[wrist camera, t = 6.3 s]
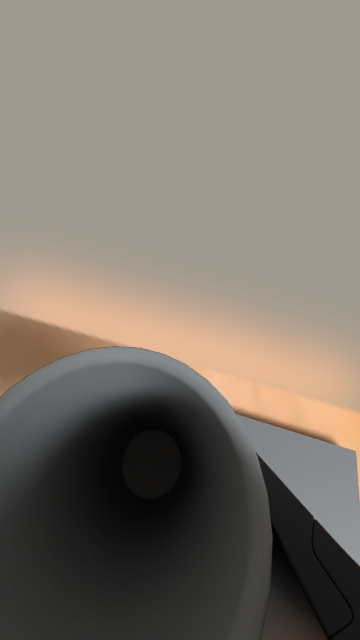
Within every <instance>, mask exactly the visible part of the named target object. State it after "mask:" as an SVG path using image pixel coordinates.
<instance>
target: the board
mask: <svg viewBox="0 0 360 640" xmlns="http://www.w3.org/2000/svg"><path fill="white" fill-rule="evenodd" d="M236 415H237V416H238V418H239V419H240V421H241V422H242V424H243V426H244V428H245V430H246V432H247V434H248V437H249V439H250V441H251V443H252V446H253V448H254V450H255V451H256V452H257V454H258V455H259V456H260V457H261V458H262V459H263V460H264V461H265V463H266V464H267V465H268V466H269V467H270V468H271V469H272V470H273V471H274V473H275V474H276V475H277V476H278V477H279V478H280V479H281V480H282V482H283V483H284V484H285V485H286V486H287V487H288V488H289V489H290V490H291V492H292V493H293V494H294V495H295V496H296V497H297V498H298V499H299V501H300V502H301V503H302V504H303V505H304V506H305V507H306V508H307V509H308V511H309V512H310V513H311V514H312V515H313V516H314V519H316V520H318V522H319V523H320V524H321V525H322V526H323V527H324V528H325V529H326V531H327V532H328V533H329V534H330V535H331V536H332V537H333V538H334V539H335V540H336V541H337V542H338V544H339V545H340V546H341V547H342V548H343V549H344V550H345V551H346V552H347V553H348V554H349V555H350V556H351V557H352V558H353V559H354V560H355V561H356V562H357V563H358V564H359V565H360V501H359V487H358V473H357V460H356V451H354V450H350V449H347V448H344V447H341V446H338V445H334V444H331V443H328V442H325V441H321V440H318V439H315V438H312V437H309V436H305V435H302V434H299V433H296V432H293V431H289V430H286V429H283V428H280V427H277V426H273V425H270V424H267V423H264V422H261V421H257V420H254V419H251V418H248V417H245V416H241V415H238V414H236Z"/></svg>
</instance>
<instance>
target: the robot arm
mask: <svg viewBox="0 0 360 640" xmlns="http://www.w3.org/2000/svg"><path fill="white" fill-rule="evenodd" d="M255 452H256V451H255ZM256 455H257V457H258V460H259V464H260V468H261V471H262V475H263V479H264V483H265V486H266V490H267V494H268V502H269V511H270V519H271V528H272V537H273V540H272V567H271V589H270V594H269V599H268V605H267V610H266V615H265V621H264V626H263V631H262V637H261V640H360V565H359V564H358V563H357V562H356V561H355V560H354V559H353V558H352V557H351V556H350V555H349V554H348V553H347V552H346V551H345V550H344V549H343V548H342V547H341V546H340V545H339V544H338V542H337V541H336V540H335V539H334V538H333V537H332V536H331V535H330V534H329V533H328V532H327V531H326V529H325V528H324V527H323V526H322V525H321V524H320V523H319V522H318V520H316V519H314V516H313V515H312V514H311V513H310V512H309V511H308V509H307V508H306V507H305V506H304V505H303V504H302V503H301V502H300V501H299V499H298V498H297V497H296V496H295V495H294V494H293V493H292V492H291V490H290V489H289V488H288V487H287V486H286V485H285V484H284V483H283V482H282V480H281V479H280V478H279V477H278V476H277V475H276V474H275V473H274V471H273V470H272V469H271V468H270V467H269V466H268V465H267V464H266V463H265V461H264V460H263V459H262V458H261V457H260V456H259V455H258V454H257V452H256Z"/></svg>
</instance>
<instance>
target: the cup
mask: <svg viewBox="0 0 360 640" xmlns="http://www.w3.org/2000/svg"><path fill="white" fill-rule="evenodd" d="M272 540H273V537H272V528H271V519H270V511H269V502H268V494H267V490H266V486H265V483H264V479H263V475H262V471H261V468H260V464H259V460H258V457H257V455H256V452H255V450H254V448H253V446H252V443H251V441H250V439H249V437H248V434H247V432H246V430H245V428H244V426H243V424H242V422H241V421H240V419H239V418H238V416H237V415H236V413H235V412H234V410H233V409H232V407H231V406H230V404H229V403H228V401H227V400H226V399H225V398H224V397H223V396H222V395H221V394H220V393H219V392H218V390H217V389H216V388H215V387H214V386H213V385H212V384H211V383H210V382H209V381H208V380H207V379H206V378H204V377H203V376H201V375H200V374H199V373H197V372H196V371H194V370H193V369H192V368H190V367H189V366H188V365H186V364H184V363H182V362H180V361H178V360H176V359H173V358H171V357H169V356H167V355H165V354H162V353H158V352H154V351H150V350H146V349H142V348H134V347H117V346H113V347H105V348H97V349H89V350H85V351H82V352H79V353H75V354H72V355H69V356H65V357H62V358H60V359H58V360H56V361H54V362H52V363H50V364H48V365H46V366H44V367H42V368H40V369H37V370H36V371H34V372H33V373H31V374H30V375H28V376H27V377H25V378H24V379H22V380H21V381H20V382H18V383H17V384H15V385H14V386H12V387H11V388H9V389H8V390H7V391H6V392H5V393H4V394H3V395H2V396H1V397H0V640H261V637H262V631H263V626H264V621H265V615H266V610H267V605H268V599H269V594H270V589H271V567H272Z"/></svg>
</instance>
